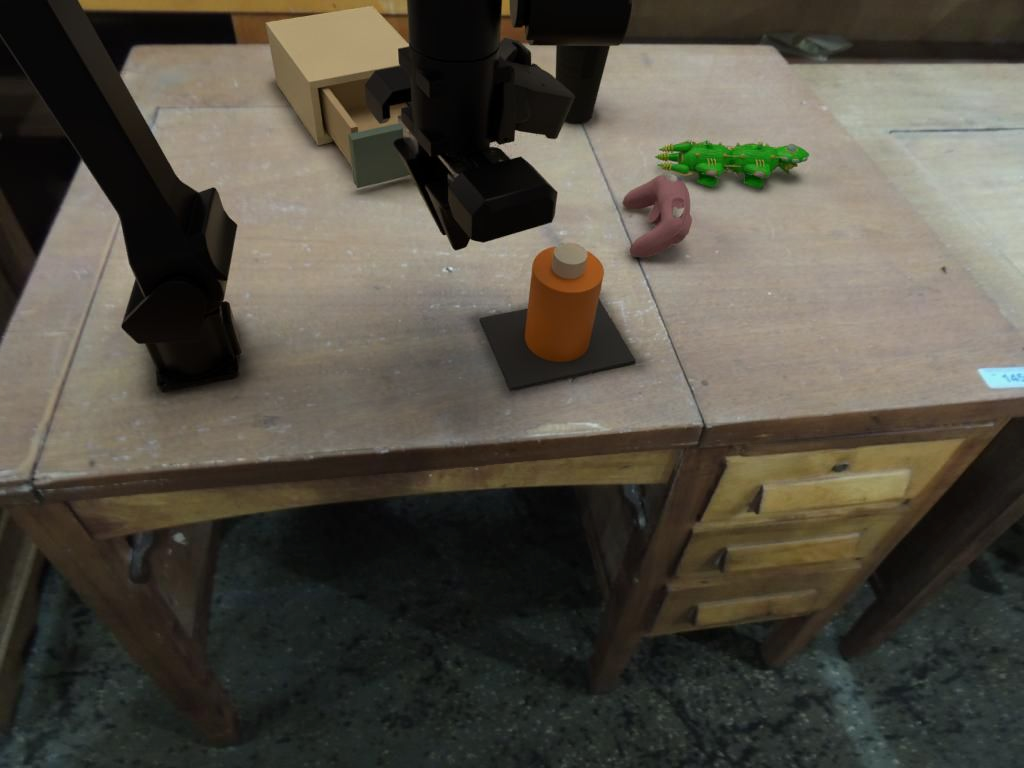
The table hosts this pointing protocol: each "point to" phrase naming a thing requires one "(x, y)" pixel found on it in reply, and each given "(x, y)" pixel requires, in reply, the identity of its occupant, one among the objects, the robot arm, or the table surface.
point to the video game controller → (661, 213)
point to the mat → (533, 370)
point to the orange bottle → (562, 302)
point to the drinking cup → (581, 77)
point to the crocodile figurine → (731, 160)
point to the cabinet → (329, 56)
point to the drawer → (362, 133)
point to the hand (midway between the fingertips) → (453, 240)
